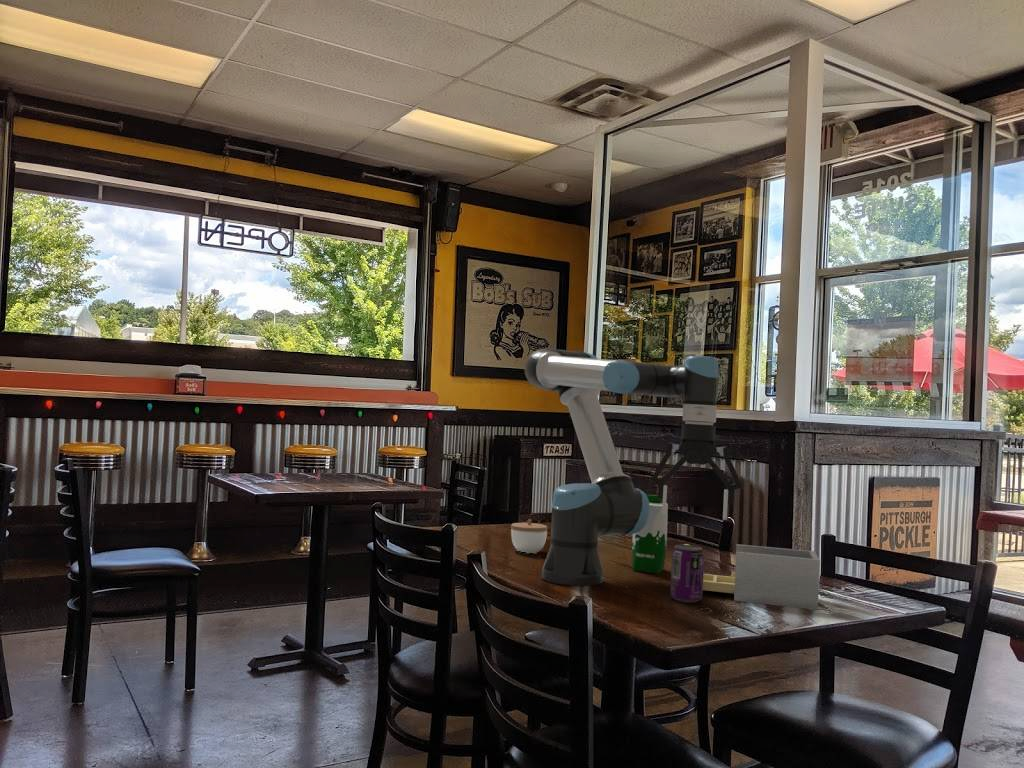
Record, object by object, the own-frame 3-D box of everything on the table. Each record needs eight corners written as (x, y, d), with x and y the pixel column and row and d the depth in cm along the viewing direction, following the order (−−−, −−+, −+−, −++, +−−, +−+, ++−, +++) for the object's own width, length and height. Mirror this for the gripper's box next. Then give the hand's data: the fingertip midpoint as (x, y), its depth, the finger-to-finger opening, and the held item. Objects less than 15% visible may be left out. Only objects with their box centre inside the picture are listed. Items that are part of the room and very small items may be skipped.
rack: (678, 593, 189) (680, 551, 189) (682, 582, 202) (684, 543, 202) (759, 602, 184) (761, 559, 184) (757, 590, 197) (759, 550, 197)
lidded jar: (507, 548, 242) (509, 516, 243) (543, 549, 243) (544, 518, 244) (511, 554, 232) (513, 521, 232) (548, 555, 233) (550, 522, 233)
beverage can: (702, 605, 179) (705, 550, 179) (669, 602, 180) (672, 548, 181) (701, 598, 186) (703, 546, 186) (670, 595, 187) (672, 543, 188)
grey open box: (734, 600, 185) (736, 552, 186) (734, 589, 198) (736, 544, 199) (817, 609, 180) (819, 560, 181) (812, 597, 194) (814, 551, 194)
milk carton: (667, 569, 221) (670, 495, 221) (660, 574, 212) (664, 498, 213) (635, 565, 224) (639, 493, 225) (628, 570, 216) (631, 495, 216)
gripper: (643, 420, 185) (638, 513, 184) (756, 427, 179) (752, 523, 179) (644, 420, 192) (639, 510, 191) (754, 426, 187) (749, 519, 186)
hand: (694, 516), depth 185 cm, fingers open, 13 cm apart
